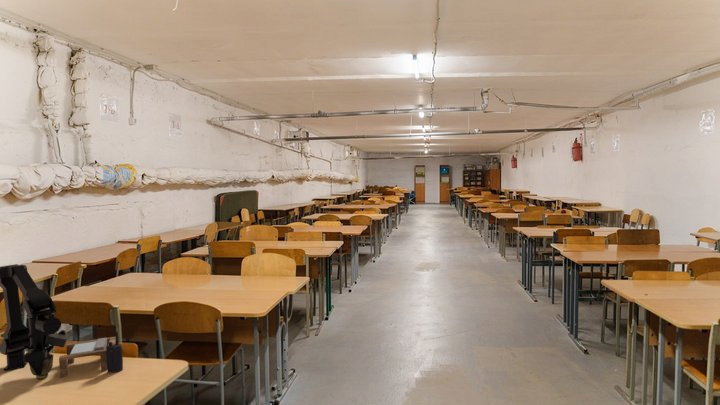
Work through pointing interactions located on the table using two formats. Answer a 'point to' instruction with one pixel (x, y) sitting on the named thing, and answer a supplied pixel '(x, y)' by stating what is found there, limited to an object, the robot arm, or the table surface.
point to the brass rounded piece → (44, 367)
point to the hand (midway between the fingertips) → (41, 371)
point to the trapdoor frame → (70, 357)
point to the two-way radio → (114, 356)
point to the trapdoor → (90, 346)
